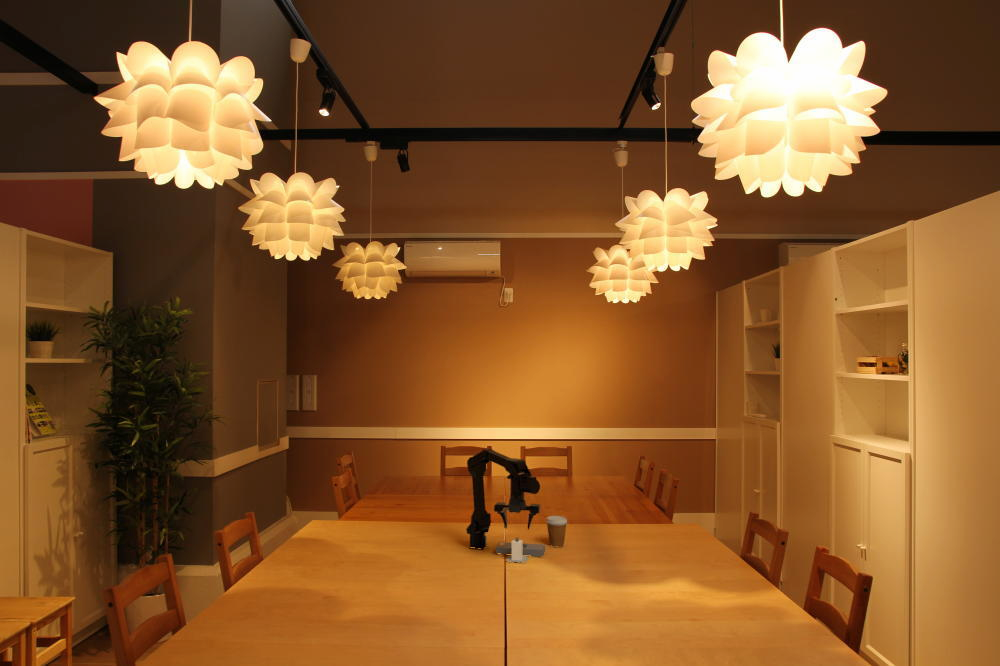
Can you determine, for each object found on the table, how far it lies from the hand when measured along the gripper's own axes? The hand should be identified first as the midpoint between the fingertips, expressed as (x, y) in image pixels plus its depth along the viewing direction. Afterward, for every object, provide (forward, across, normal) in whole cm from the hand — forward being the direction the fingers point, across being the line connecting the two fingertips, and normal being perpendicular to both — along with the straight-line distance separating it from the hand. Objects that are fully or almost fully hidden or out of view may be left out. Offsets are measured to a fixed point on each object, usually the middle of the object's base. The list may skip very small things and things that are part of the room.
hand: (517, 528), depth 251 cm
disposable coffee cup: (+13, +14, +24) cm, 31 cm away
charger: (+12, 0, 0) cm, 12 cm away
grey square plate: (+13, 0, 0) cm, 13 cm away
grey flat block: (+13, 0, +10) cm, 16 cm away
